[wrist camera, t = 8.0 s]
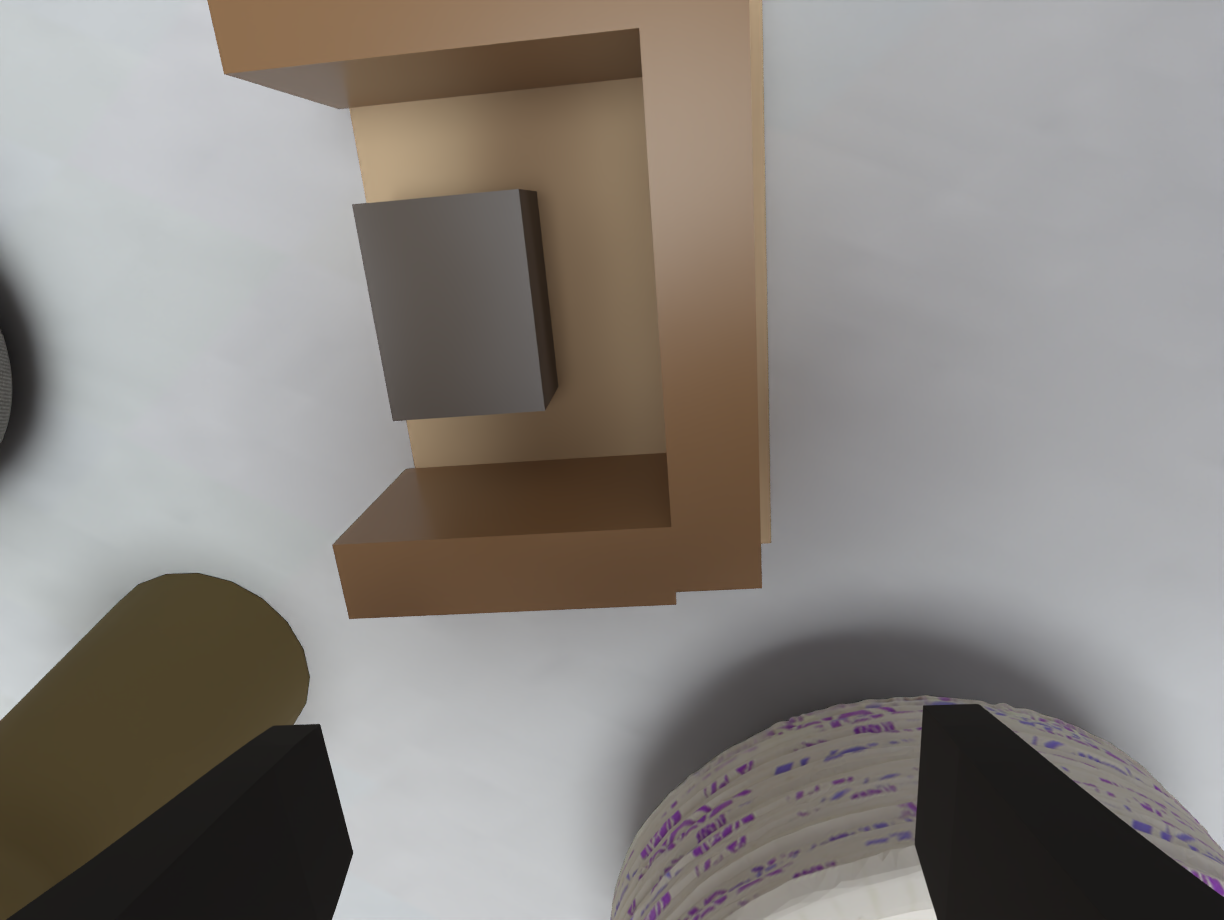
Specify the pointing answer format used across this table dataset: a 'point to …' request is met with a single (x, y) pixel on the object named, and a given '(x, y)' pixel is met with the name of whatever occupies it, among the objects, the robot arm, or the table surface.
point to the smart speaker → (4, 387)
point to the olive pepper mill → (137, 721)
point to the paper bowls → (852, 818)
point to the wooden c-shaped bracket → (685, 288)
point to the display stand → (528, 272)
